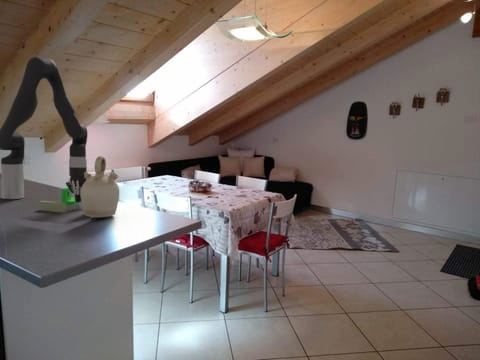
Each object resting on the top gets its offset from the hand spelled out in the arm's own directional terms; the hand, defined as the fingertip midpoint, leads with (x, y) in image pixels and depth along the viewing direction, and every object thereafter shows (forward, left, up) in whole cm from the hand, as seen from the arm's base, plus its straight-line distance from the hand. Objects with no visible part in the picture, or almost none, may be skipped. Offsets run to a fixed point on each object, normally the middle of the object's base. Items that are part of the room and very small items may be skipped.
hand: (78, 202), depth 166 cm
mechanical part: (-7, +4, -2) cm, 8 cm away
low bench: (0, -10, -2) cm, 10 cm away
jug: (+22, -13, -2) cm, 26 cm away
